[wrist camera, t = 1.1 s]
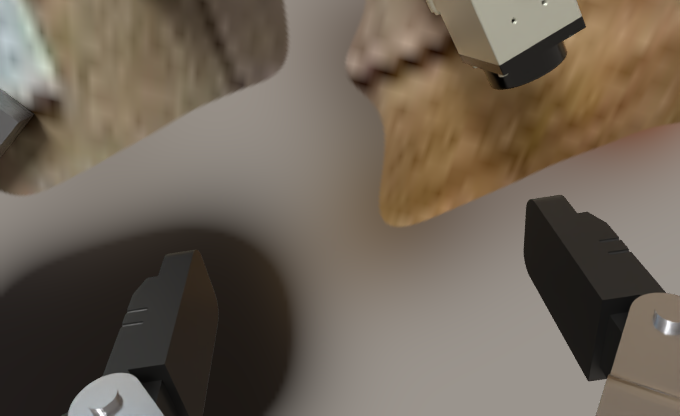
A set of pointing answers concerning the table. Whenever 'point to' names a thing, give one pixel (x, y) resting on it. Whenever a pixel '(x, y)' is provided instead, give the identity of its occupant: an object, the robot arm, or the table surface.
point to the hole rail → (11, 120)
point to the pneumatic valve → (510, 35)
